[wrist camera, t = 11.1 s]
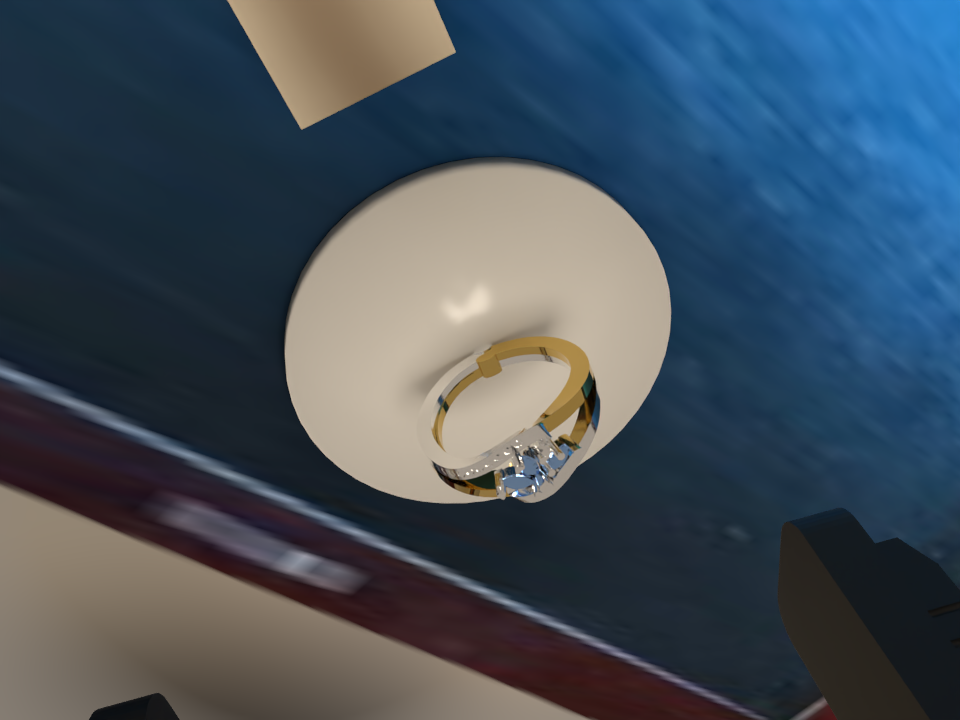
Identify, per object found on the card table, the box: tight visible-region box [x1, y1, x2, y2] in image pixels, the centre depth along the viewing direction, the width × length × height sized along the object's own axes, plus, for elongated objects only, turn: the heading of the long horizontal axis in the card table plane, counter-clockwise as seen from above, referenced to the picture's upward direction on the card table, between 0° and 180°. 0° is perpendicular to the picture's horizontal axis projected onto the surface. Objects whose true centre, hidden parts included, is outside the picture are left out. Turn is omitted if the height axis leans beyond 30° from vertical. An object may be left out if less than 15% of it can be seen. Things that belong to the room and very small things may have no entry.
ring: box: [417, 336, 600, 503], centre depth 33 cm, size 7×3×8 cm, turn 110°
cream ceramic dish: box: [284, 157, 671, 503], centre depth 36 cm, size 16×16×1 cm
